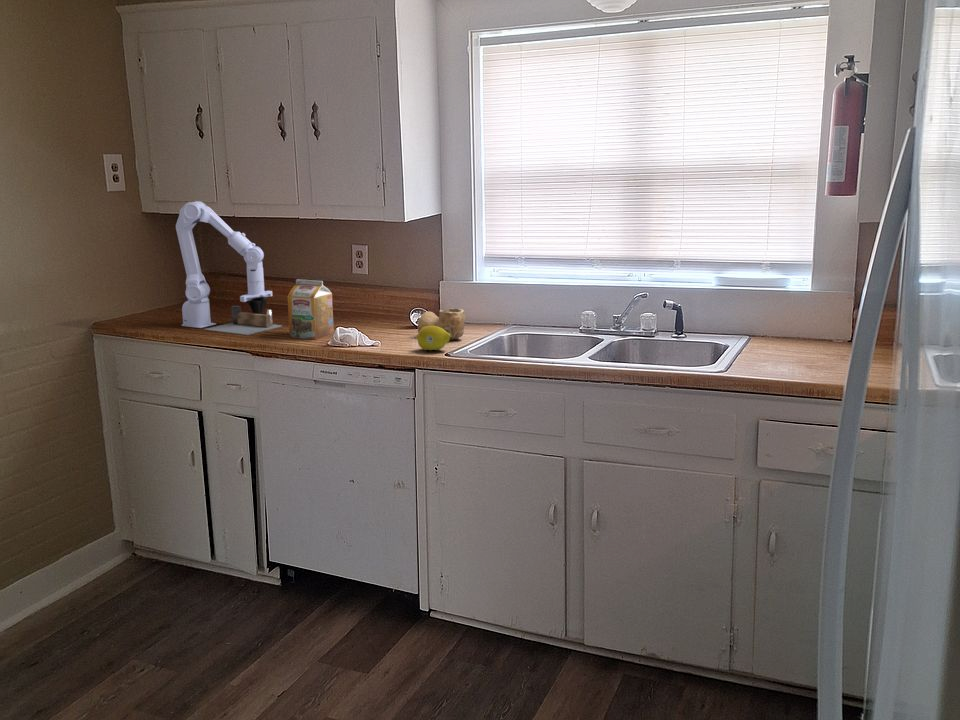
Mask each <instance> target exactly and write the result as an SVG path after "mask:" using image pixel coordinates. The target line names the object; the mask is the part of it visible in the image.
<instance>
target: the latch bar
mask: <svg viewBox="0 0 960 720" xmlns="http://www.w3.org/2000/svg"><path fill="white" fill-rule="evenodd" d="M230 308H231V320H232V322H231V323H233V324H245V325H253V326H262V327H269V326H270V315H266V313H265V314H264V313H262V314H256V313H253V312H245V311H242V309H241V306H240V305H232V306H231V307H230Z"/></svg>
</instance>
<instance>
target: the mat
mask: <svg viewBox="0 0 960 720" xmlns="http://www.w3.org/2000/svg"><path fill="white" fill-rule="evenodd" d="M281 327H283V325H281V324H273V326H269V327H262V326H253V325H245V324H233V323H232V322H230V323H224V324H221V325H216V326H210V327H208V328H207V327H206V328H203V330H204V331H210V332H215V333H216V332H218V333H226V334H234V335H242V336H251V335H254V334H258V333H261V332H267V331H270V330H273V329H274V330H275V329H277V328H281Z"/></svg>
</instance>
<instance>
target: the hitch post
mask: <svg viewBox="0 0 960 720" xmlns="http://www.w3.org/2000/svg"><path fill="white" fill-rule="evenodd" d="M265 315H270V326H273V323H274V322H273V310H272V309H265Z"/></svg>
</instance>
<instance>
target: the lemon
mask: <svg viewBox="0 0 960 720" xmlns="http://www.w3.org/2000/svg"><path fill="white" fill-rule="evenodd" d="M416 340H417V343H418V346H419V347H420V348H421V349H422V350H424V351H426V350H436V351H438V350H440V349H443V348H444V347H445V346H446V344H448V343H449V342H450V341H451V340H450V334H449V333H448V332H446V331H445V330H444V329H442V328H440V327H437V326H426V327H423V328H422V329H421V330H420V331H419V333H418V334H417V335H416Z"/></svg>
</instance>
